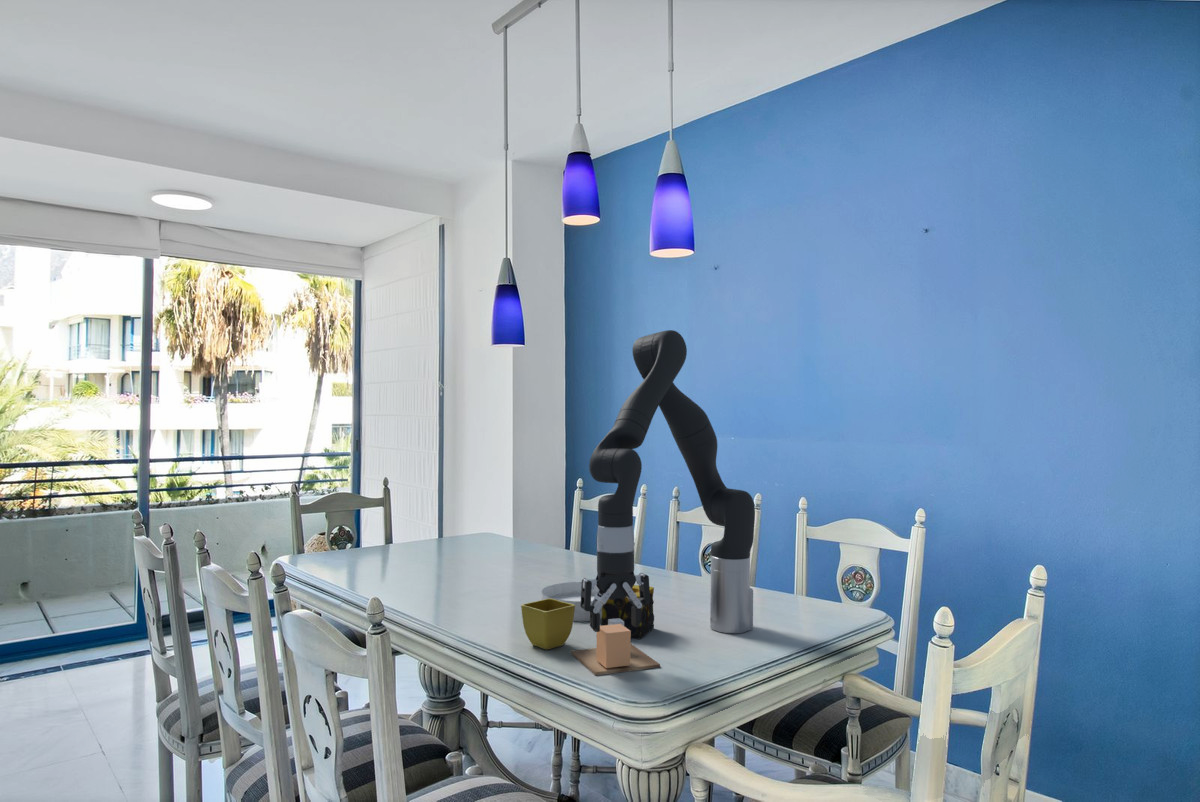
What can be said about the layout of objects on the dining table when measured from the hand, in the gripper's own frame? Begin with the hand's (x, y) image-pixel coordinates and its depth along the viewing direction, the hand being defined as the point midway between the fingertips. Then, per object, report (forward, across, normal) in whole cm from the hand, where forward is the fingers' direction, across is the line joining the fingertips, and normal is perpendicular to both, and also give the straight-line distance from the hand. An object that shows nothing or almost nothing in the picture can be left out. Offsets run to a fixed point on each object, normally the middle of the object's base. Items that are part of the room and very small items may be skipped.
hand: (615, 628), depth 149 cm
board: (+8, -2, -4) cm, 9 cm away
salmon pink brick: (+7, 0, 0) cm, 7 cm away
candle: (+8, -13, -22) cm, 27 cm away
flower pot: (+8, +8, -18) cm, 22 cm away
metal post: (+7, -4, -8) cm, 12 cm away
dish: (+9, -10, -44) cm, 46 cm away
